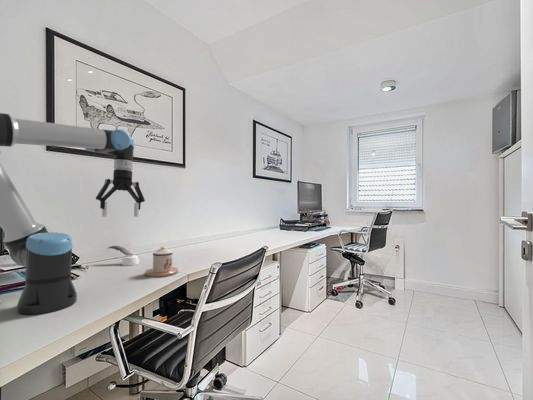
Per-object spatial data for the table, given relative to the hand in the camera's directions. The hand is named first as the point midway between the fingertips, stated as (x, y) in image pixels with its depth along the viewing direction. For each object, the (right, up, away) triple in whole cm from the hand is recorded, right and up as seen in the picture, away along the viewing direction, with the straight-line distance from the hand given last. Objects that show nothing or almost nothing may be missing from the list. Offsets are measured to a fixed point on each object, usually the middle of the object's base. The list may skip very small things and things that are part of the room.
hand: (120, 216), depth 120 cm
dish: (+15, -28, +9) cm, 33 cm away
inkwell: (-14, -28, +28) cm, 42 cm away
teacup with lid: (+16, -27, +10) cm, 33 cm away
